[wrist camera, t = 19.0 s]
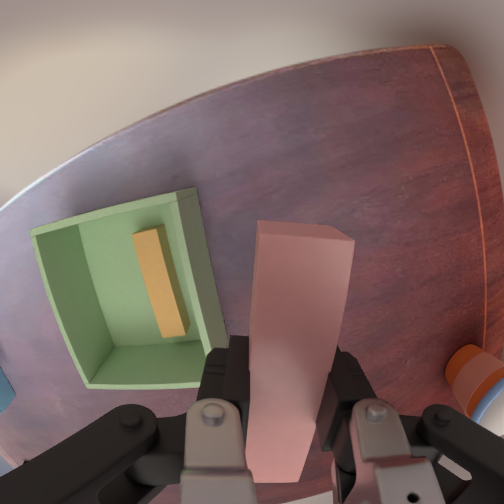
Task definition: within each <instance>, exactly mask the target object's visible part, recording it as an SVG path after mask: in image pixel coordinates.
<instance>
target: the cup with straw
mask: <svg viewBox="0 0 504 504" xmlns="http://www.w3.org/2000/svg"><path fill="white" fill-rule="evenodd" d="M445 378H446V380H447V381H448V383H449V385H450V386H451V388H452V390H453V394H454V396H455V397H456V399H457V401H458V402H459V404H460V406H461V407H462V409H463V411H464V413H465V414H466V416H467V417H469V418H470V419H471V420H473V421H474V422H476V423H478V424H479V425H481V426H482V427H484V428H486V429H488V430H489V431H491V432H493V433H494V434H496V435H498V436H501V435H503V434H504V363H503V362H501V361H500V360H499V359H497V358H496V357H494V356H493V355H491V354H490V353H488V352H485V351H483V350H482V349H480V348H479V347H477V346H476V345H473V344H469V345H466V346H464V347H462V348H460V349H459V350H458V351H457V352H456V353H455V354H454V355H453V356H452V357H451V359H450V360H449V362H448V364H447V366H446V369H445Z"/></svg>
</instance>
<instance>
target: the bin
mask: <svg viewBox="0 0 504 504" xmlns="http://www.w3.org/2000/svg"><path fill="white" fill-rule="evenodd" d="M161 224H164V226H165V230H166V234H167V238H168V242H169V246H170V250H171V254H172V258H173V262H174V266H175V270H176V274H177V277H178V281H179V285H180V288H181V292H182V296H183V299H184V303H185V306H186V309H187V313H188V316H189V320H190V323H191V324H190V326H189V329H188V331H187V334H186V335H184V336H176V337H167V338H162V335H161V332H160V329H159V326H158V323H157V320H156V317H155V314H154V311H153V308H152V305H151V302H150V299H149V296H148V292H147V289H146V286H145V282H144V279H143V276H142V272H141V269H140V265H139V262H138V258H137V254H136V250H135V247H134V243H133V239H132V235H131V234H133V233H134V232H136V231H138V230H140V229H143V228H148V227H152V226H156V225H161ZM29 231H30V236H31V239H32V244H33V248H34V252H35V255H36V259H37V263H38V266H39V270H40V273H41V277H42V280H43V283H44V286H45V289H46V292H47V295H48V298H49V301H50V304H51V307H52V310H53V312H54V315H55V318H56V320H57V323H58V326H59V328H60V331H61V333H62V336H63V338H64V340H65V343H66V345H67V347H68V350H69V352H70V354H71V356H72V359H73V361H74V363H75V365H76V367H77V369H78V371H79V373H80V376H81V378H82V380H83V382H84V383H85V385H86V387H87V388H92V389H177V388H195V387H200V382H201V378H202V374H203V369H204V366H205V361H206V356H207V354H208V353H209V352H210V351H211V350H212V349H213V348H214V347H217V348H227V341H228V338H227V333H226V329H225V325H224V320H223V316H222V311H221V307H220V302H219V298H218V293H217V289H216V284H215V279H214V275H213V270H212V265H211V260H210V256H209V251H208V246H207V241H206V236H205V231H204V225H203V220H202V215H201V210H200V204H199V199H198V193H197V188H196V187H194V188H189V189H184V190H179V191H174V192H169V193H165V194H160V195H156V196H151V197H147V198H142V199H138V200H134V201H130V202H125V203H121V204H117V205H113V206H109V207H105V208H102V209H98V210H94V211H90V212H86V213H83V214H79V215H76V216H72V217H69V218H65V219H62V220H59V221H55V222H52V223H49V224H46V225H43V226H40V227H36V228H33V229H30V230H29Z"/></svg>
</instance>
